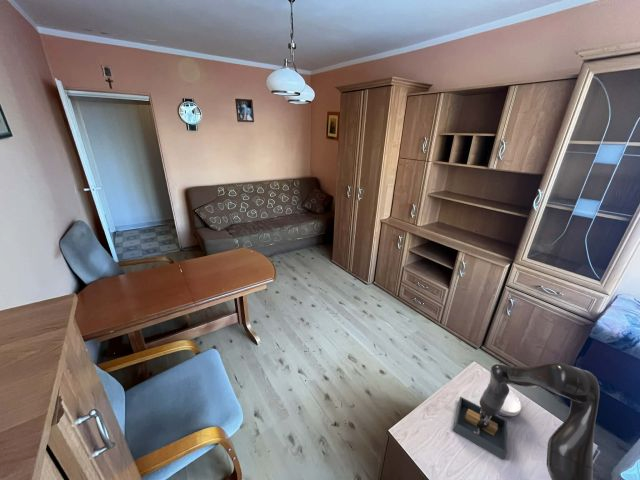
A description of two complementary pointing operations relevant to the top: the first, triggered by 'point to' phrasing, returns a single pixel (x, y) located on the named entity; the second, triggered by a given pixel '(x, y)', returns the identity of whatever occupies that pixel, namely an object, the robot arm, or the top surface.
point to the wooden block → (474, 419)
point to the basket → (484, 439)
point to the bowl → (510, 405)
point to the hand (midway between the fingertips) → (479, 423)
